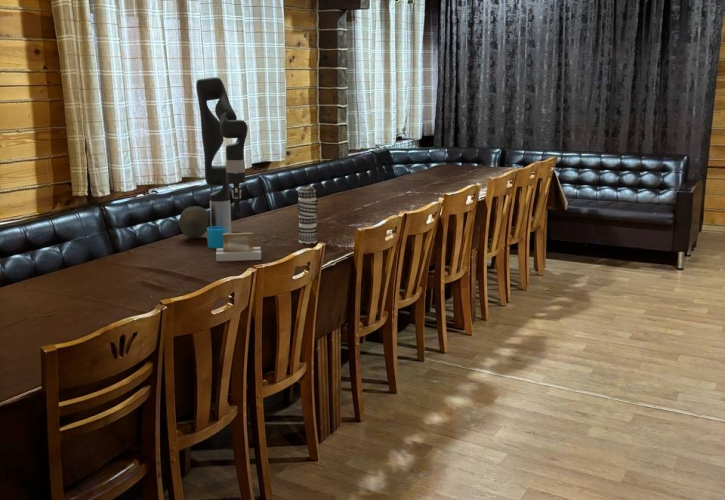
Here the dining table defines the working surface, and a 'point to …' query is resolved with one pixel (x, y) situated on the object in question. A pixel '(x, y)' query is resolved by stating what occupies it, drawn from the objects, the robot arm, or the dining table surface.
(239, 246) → the picture frame
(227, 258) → the notched stand
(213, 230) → the mug
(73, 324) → the dining table surface
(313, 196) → the decorative candle
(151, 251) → the dining table surface
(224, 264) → the dining table surface
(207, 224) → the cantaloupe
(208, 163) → the robot arm
